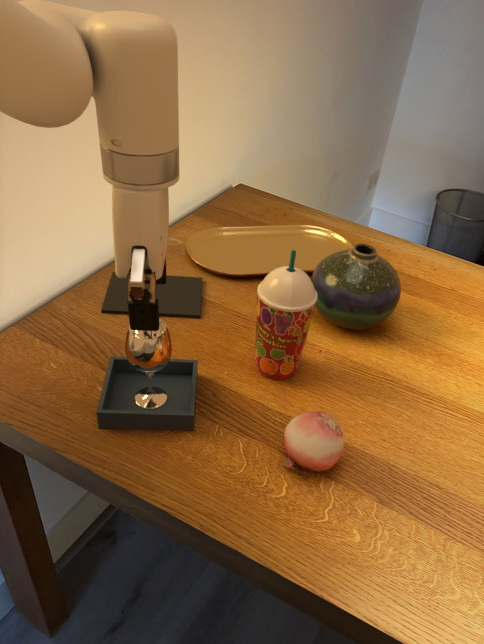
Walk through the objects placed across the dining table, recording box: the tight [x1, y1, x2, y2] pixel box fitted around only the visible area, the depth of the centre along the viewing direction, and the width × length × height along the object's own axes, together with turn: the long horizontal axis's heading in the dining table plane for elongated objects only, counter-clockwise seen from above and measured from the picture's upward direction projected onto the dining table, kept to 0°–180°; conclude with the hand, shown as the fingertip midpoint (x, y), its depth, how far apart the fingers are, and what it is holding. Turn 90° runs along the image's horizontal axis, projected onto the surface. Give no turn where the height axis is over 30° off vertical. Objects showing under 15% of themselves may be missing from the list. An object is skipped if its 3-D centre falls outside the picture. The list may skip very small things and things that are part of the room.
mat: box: [100, 271, 204, 319], centre depth 94 cm, size 16×12×1 cm
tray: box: [96, 355, 199, 432], centre depth 74 cm, size 12×11×3 cm
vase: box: [310, 243, 402, 331], centre depth 93 cm, size 15×15×13 cm
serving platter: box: [185, 224, 354, 278], centre depth 110 cm, size 19×35×2 cm, turn 108°
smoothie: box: [254, 250, 317, 381], centre depth 77 cm, size 8×8×20 cm
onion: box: [282, 410, 345, 477], centre depth 68 cm, size 8×8×7 cm
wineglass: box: [124, 318, 173, 409], centre depth 71 cm, size 6×6×12 cm
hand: (149, 304), depth 65 cm, fingers open, 9 cm apart
